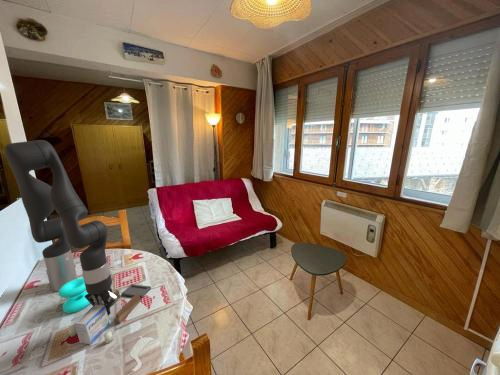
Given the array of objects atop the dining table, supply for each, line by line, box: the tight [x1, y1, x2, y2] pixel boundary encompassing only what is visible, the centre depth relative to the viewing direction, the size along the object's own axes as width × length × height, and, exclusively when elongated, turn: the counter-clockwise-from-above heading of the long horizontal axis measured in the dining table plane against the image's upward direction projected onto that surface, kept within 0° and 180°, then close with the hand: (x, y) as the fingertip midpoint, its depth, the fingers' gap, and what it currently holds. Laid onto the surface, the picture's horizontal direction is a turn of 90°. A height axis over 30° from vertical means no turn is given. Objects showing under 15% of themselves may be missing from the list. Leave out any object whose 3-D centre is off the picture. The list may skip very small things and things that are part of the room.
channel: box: [111, 289, 142, 324], centre depth 81 cm, size 11×11×4 cm
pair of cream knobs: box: [67, 324, 114, 345], centre depth 69 cm, size 17×2×3 cm, turn 79°
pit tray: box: [121, 283, 152, 299], centre depth 91 cm, size 10×6×1 cm, turn 79°
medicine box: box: [73, 305, 111, 345], centre depth 70 cm, size 8×4×9 cm, turn 171°
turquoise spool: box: [58, 277, 91, 314], centre depth 83 cm, size 10×10×10 cm
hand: (106, 315), depth 75 cm, fingers closed
